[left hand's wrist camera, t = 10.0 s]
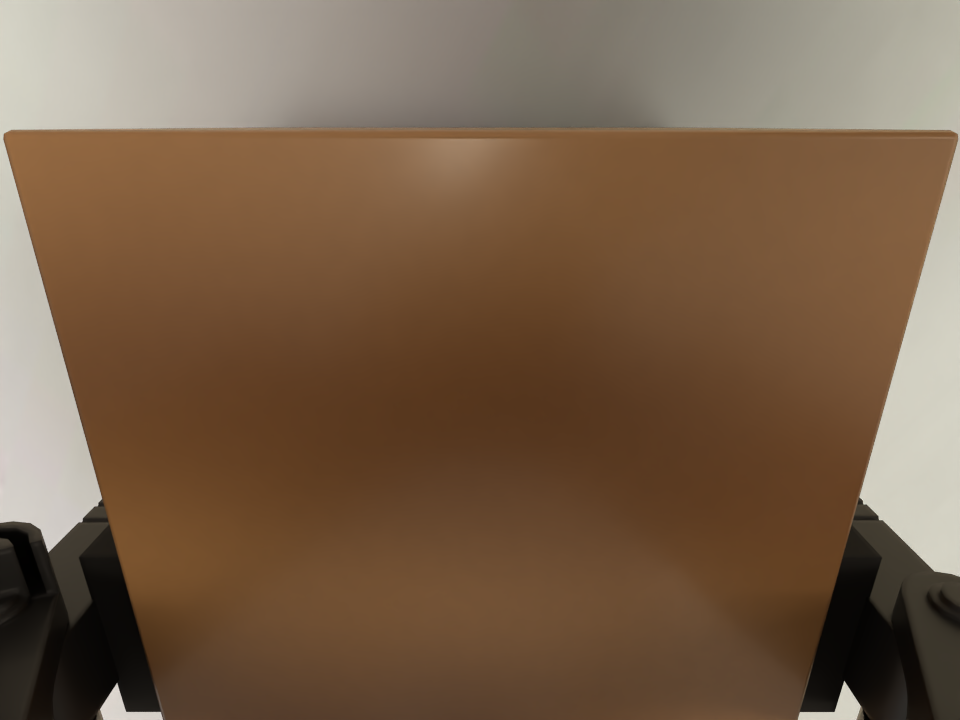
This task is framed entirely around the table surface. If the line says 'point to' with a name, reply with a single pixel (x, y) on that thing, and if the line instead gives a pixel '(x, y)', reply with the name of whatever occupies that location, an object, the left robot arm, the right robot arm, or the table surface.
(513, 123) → the table surface
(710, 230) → the wooden grain beam
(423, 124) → the table surface
